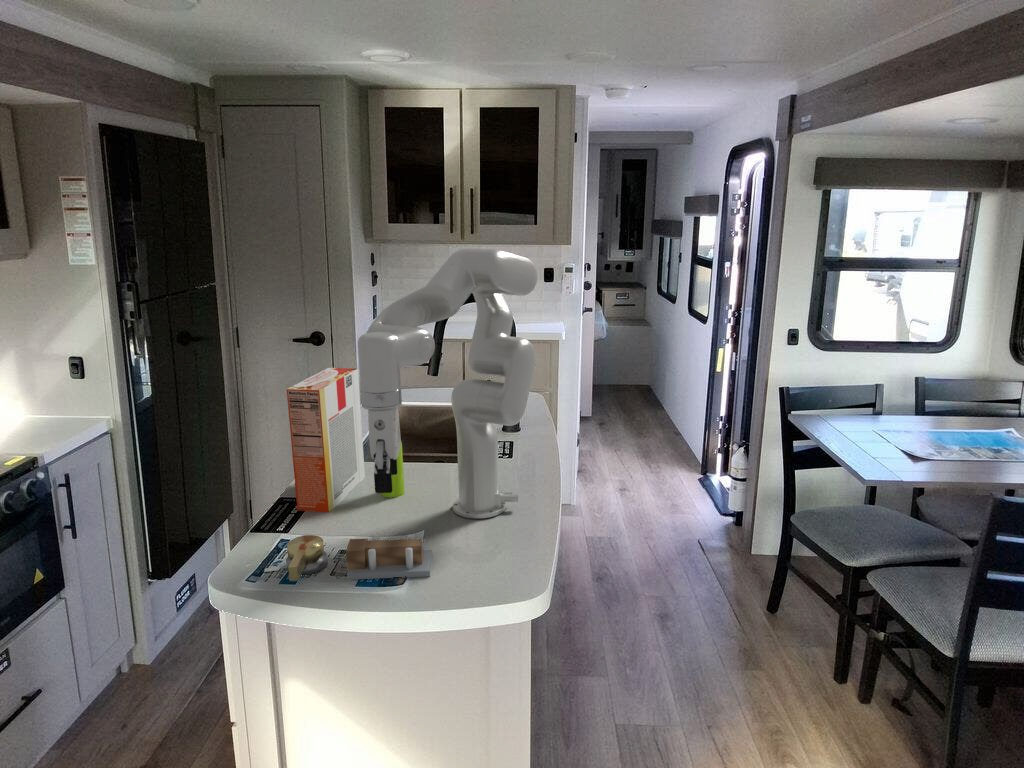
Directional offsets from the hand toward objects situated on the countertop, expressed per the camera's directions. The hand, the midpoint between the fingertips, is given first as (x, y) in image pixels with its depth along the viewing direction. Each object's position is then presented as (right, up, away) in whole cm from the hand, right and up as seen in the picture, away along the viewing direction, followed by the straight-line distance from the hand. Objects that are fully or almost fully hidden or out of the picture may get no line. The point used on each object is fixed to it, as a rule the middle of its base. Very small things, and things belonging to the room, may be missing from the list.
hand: (386, 483), depth 141 cm
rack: (0, -17, +4) cm, 18 cm away
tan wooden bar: (-1, -16, +4) cm, 17 cm away
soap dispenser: (-6, -9, +41) cm, 43 cm away
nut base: (-19, -18, +5) cm, 26 cm away
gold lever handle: (-17, -16, +1) cm, 23 cm away
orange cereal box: (-21, -9, +43) cm, 48 cm away
